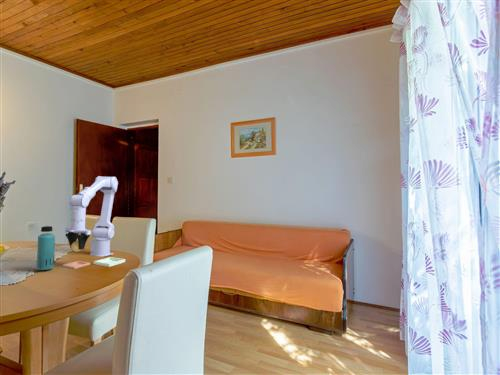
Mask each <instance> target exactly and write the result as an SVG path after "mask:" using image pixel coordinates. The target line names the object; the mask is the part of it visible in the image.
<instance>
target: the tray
mask: <svg viewBox="0 0 500 375" xmlns="http://www.w3.org/2000/svg"><path fill="white" fill-rule="evenodd" d="M123 263H126V259H125V258H119V257H113V256H107V257H105V258H104V257H103V258H102V259H98V260H94V261H93V265H97V266H101V267H102V266H103V267H108V268H110V267H113V266H116V265H120V264H123Z"/></svg>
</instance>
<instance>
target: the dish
mask: <svg viewBox="0 0 500 375" xmlns="http://www.w3.org/2000/svg"><path fill="white" fill-rule="evenodd" d="M89 265H91V262H88V261H82V260H81V261H80V260H76V261H72V262H68V263H64V264H62V265H61V266H62V267H63V268H68V269H69V268H70V269H74V270H76V269H79V268H83V267H87V266H89Z"/></svg>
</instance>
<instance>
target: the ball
mask: <svg viewBox="0 0 500 375" xmlns="http://www.w3.org/2000/svg"><path fill="white" fill-rule="evenodd" d="M70 249H71V250H72V251H73V252H76V253H77V252H80V251H82V250H83V249H81V250H79V244H78V240H77V241H75V242H73V243H72V245H71V248H70Z"/></svg>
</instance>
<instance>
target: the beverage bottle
mask: <svg viewBox="0 0 500 375" xmlns="http://www.w3.org/2000/svg"><path fill="white" fill-rule="evenodd" d="M40 232H42V233H41V234H39V235H38V236H37V250H36V251H37V253H36V261H35V262H36V265H35V267H36V270H38V271H46V270H47V271H48V270H51V269H53V268H54V266H55V250H56V247H55V246H56V240H55V239H56V235H55V234H54V233H50V232H53V226H51V225H46V226H41V230H40ZM47 232H48V233H47Z"/></svg>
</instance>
